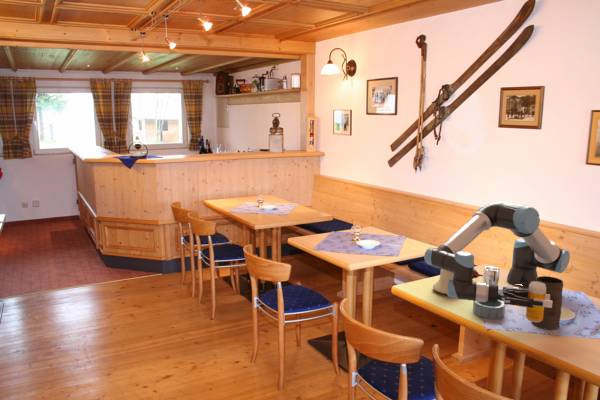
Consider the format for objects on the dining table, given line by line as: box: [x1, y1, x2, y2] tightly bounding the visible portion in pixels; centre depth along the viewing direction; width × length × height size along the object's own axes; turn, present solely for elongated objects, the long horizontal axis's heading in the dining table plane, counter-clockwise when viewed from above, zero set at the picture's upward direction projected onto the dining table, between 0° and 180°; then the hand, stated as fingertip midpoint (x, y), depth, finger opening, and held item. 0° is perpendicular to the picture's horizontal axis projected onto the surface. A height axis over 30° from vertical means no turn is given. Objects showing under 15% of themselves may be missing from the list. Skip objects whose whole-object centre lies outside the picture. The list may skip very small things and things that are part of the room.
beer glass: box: [482, 266, 500, 286], centre depth 232 cm, size 7×7×15 cm
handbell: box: [432, 269, 454, 295], centre depth 239 cm, size 15×15×25 cm
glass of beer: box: [525, 281, 546, 322], centre depth 194 cm, size 6×6×15 cm
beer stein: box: [530, 275, 564, 330], centre depth 207 cm, size 15×11×20 cm
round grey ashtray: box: [472, 300, 506, 320], centre depth 216 cm, size 12×12×5 cm
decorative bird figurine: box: [472, 268, 483, 282], centre depth 256 cm, size 3×18×10 cm, turn 16°
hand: (550, 301), depth 192 cm, fingers closed on glass of beer, 6 cm apart
